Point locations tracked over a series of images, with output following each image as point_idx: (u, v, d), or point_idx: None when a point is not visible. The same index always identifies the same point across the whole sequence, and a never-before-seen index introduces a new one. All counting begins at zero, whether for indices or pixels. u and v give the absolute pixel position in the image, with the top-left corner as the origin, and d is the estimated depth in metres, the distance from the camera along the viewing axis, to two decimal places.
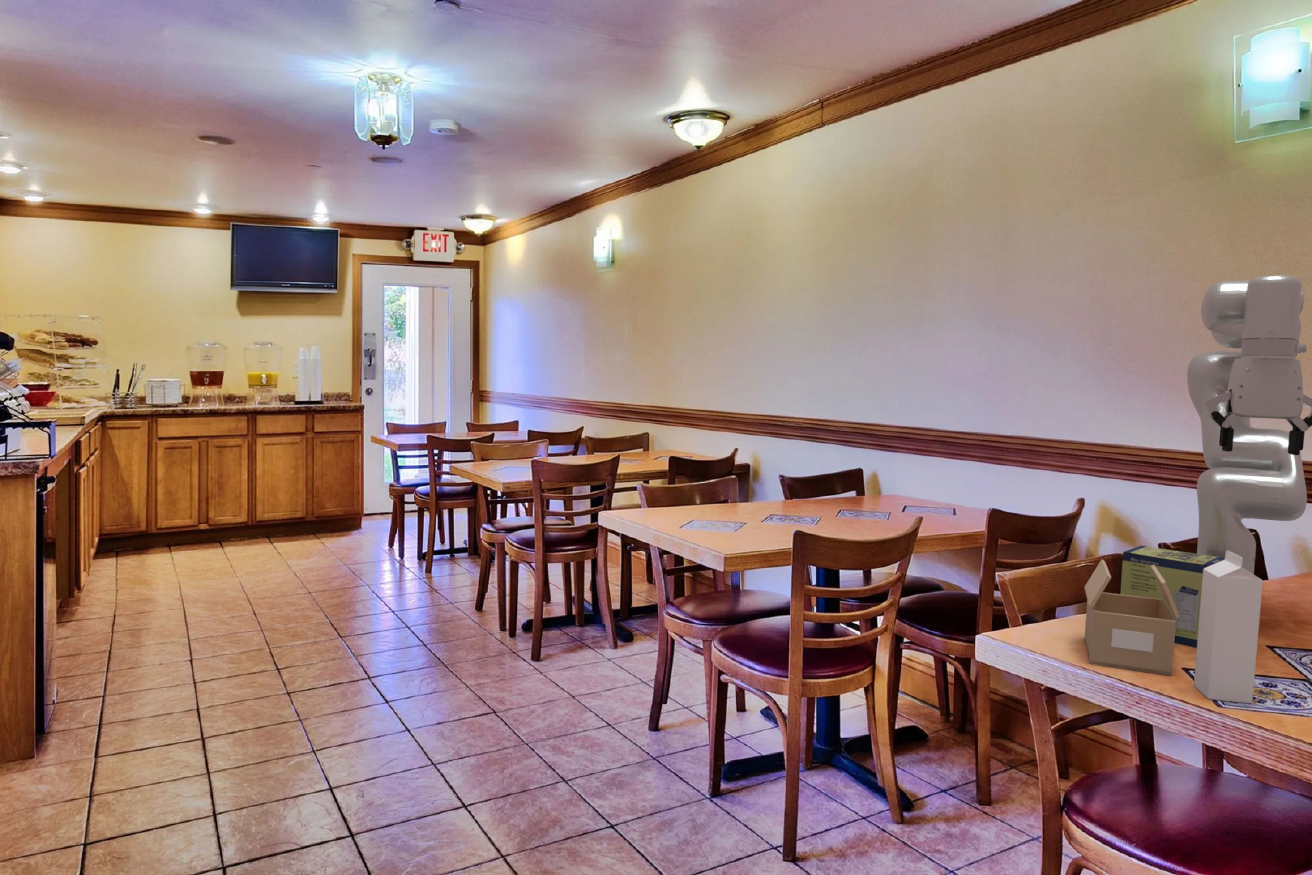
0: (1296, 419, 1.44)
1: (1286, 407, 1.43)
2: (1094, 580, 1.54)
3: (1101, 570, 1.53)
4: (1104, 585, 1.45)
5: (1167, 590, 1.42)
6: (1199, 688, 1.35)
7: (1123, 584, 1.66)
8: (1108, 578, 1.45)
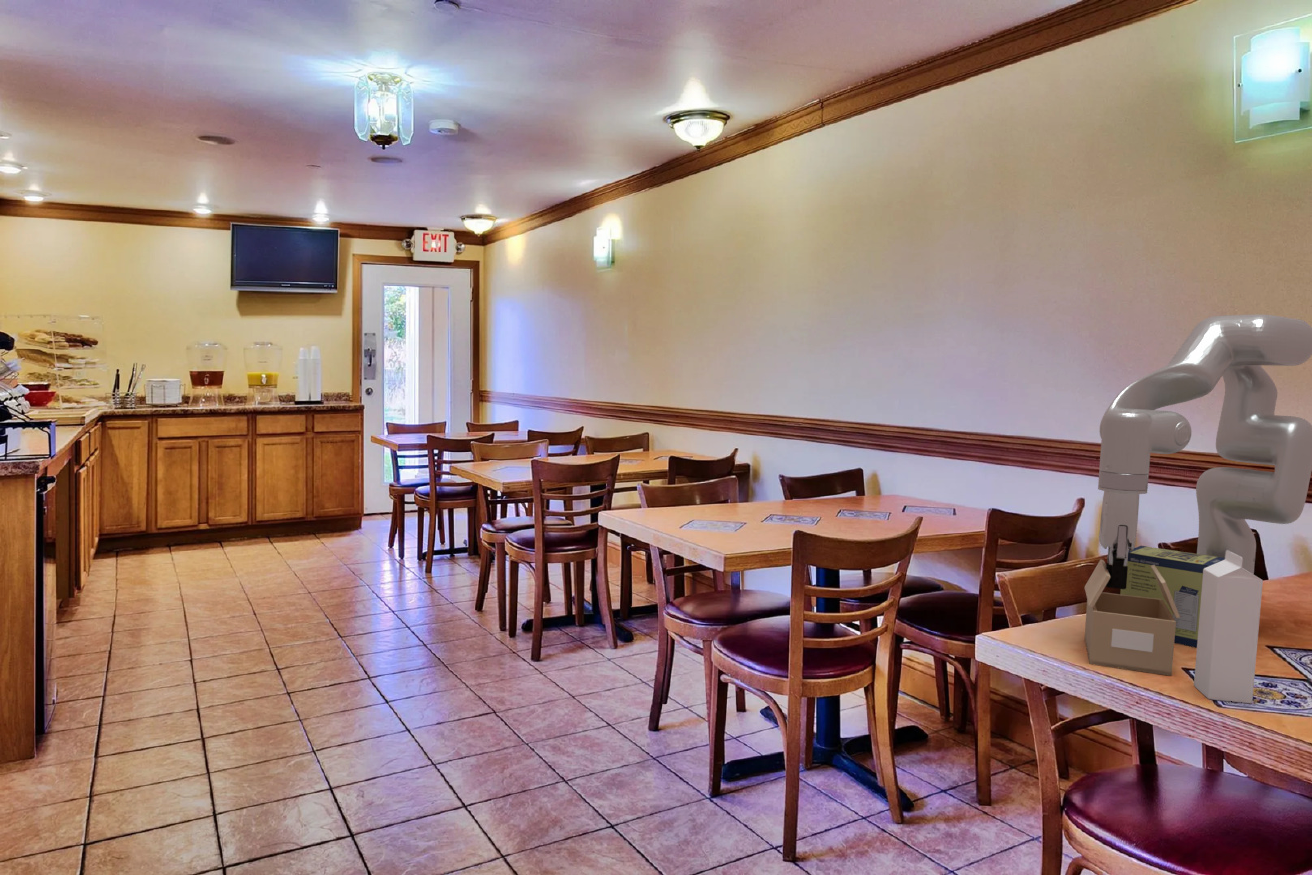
0: None
1: None
2: (1094, 580, 1.54)
3: (1100, 570, 1.53)
4: (1103, 585, 1.45)
5: (1167, 590, 1.42)
6: (1199, 688, 1.35)
7: None
8: (1107, 578, 1.45)
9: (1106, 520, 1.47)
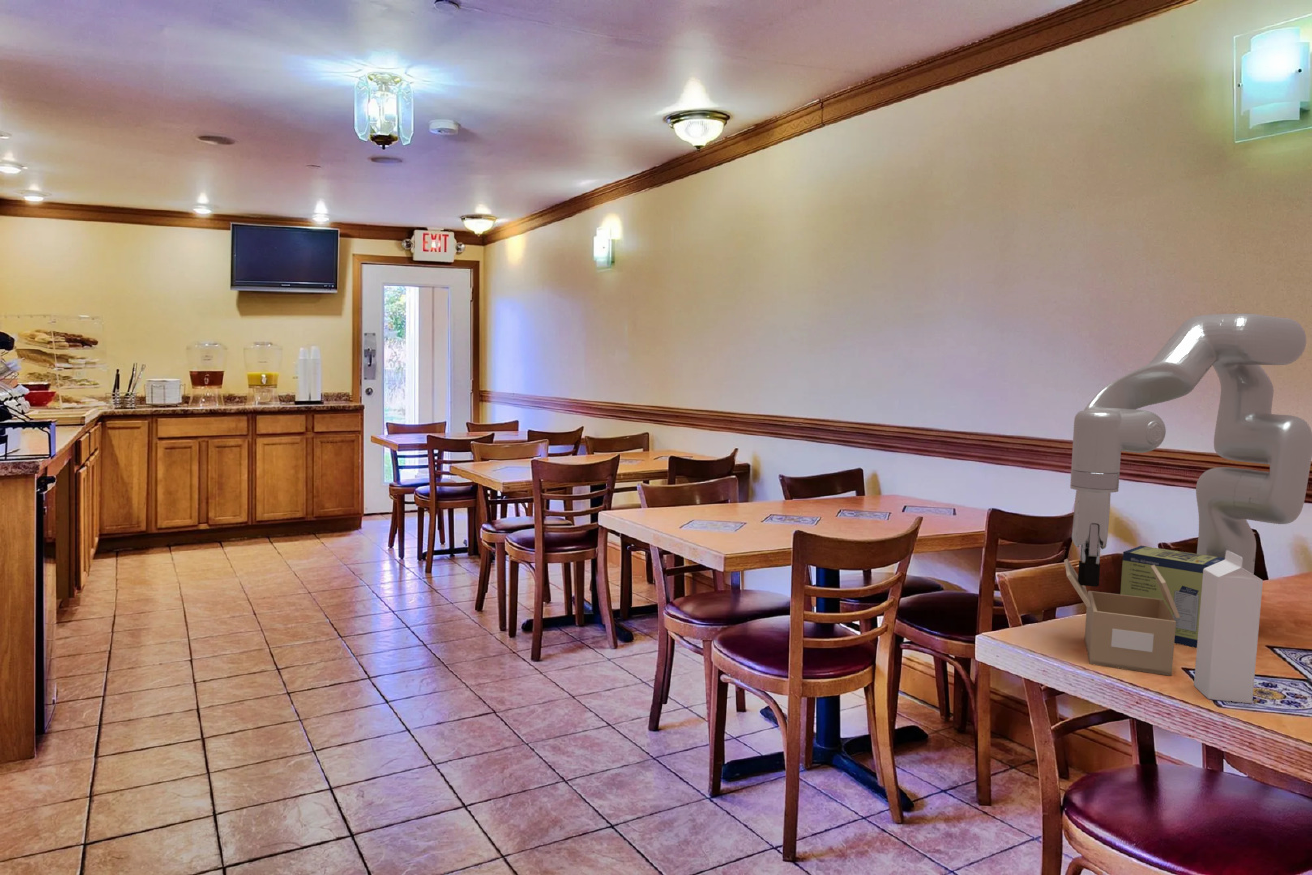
0: None
1: None
2: None
3: None
4: (1074, 584, 1.47)
5: (1167, 590, 1.42)
6: (1199, 688, 1.35)
7: (1123, 584, 1.66)
8: (1069, 577, 1.47)
9: (1078, 519, 1.49)
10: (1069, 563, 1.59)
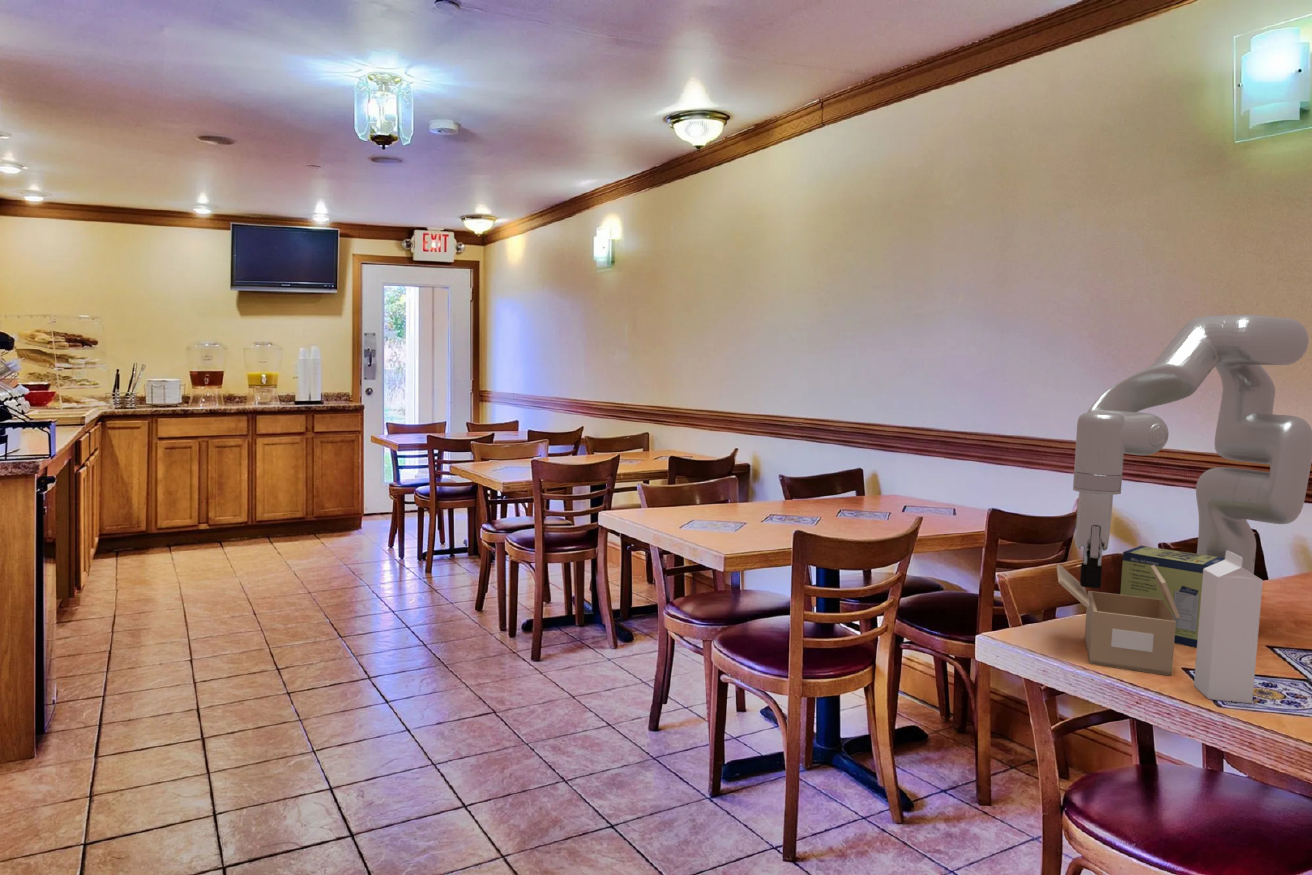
0: None
1: None
2: None
3: None
4: (1068, 588, 1.48)
5: (1167, 590, 1.42)
6: (1199, 688, 1.35)
7: (1123, 584, 1.66)
8: (1061, 582, 1.48)
9: (1080, 520, 1.49)
10: (1061, 568, 1.60)
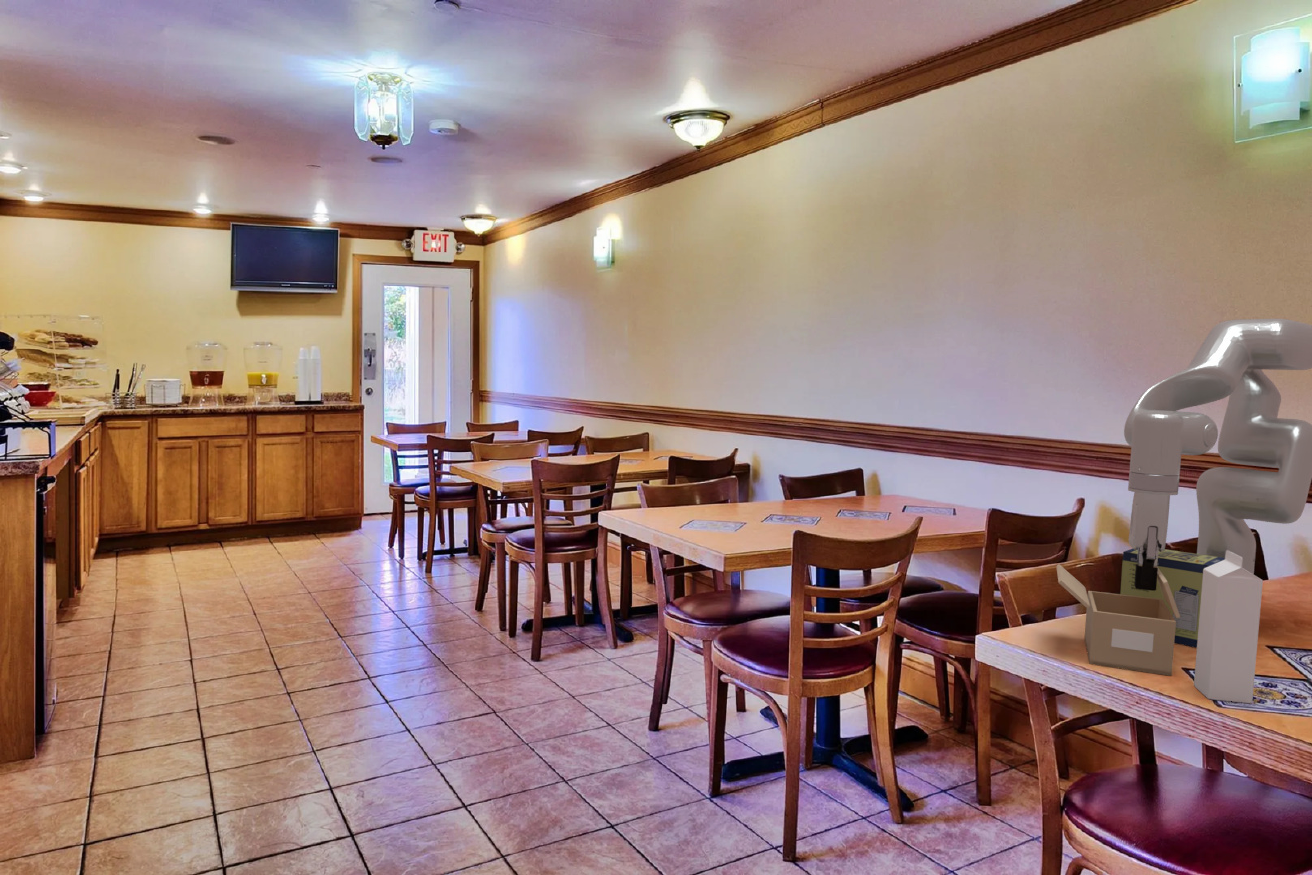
0: None
1: None
2: None
3: None
4: (1068, 588, 1.48)
5: (1168, 590, 1.42)
6: (1199, 688, 1.35)
7: (1123, 584, 1.66)
8: (1061, 582, 1.48)
9: (1136, 521, 1.47)
10: (1061, 568, 1.60)
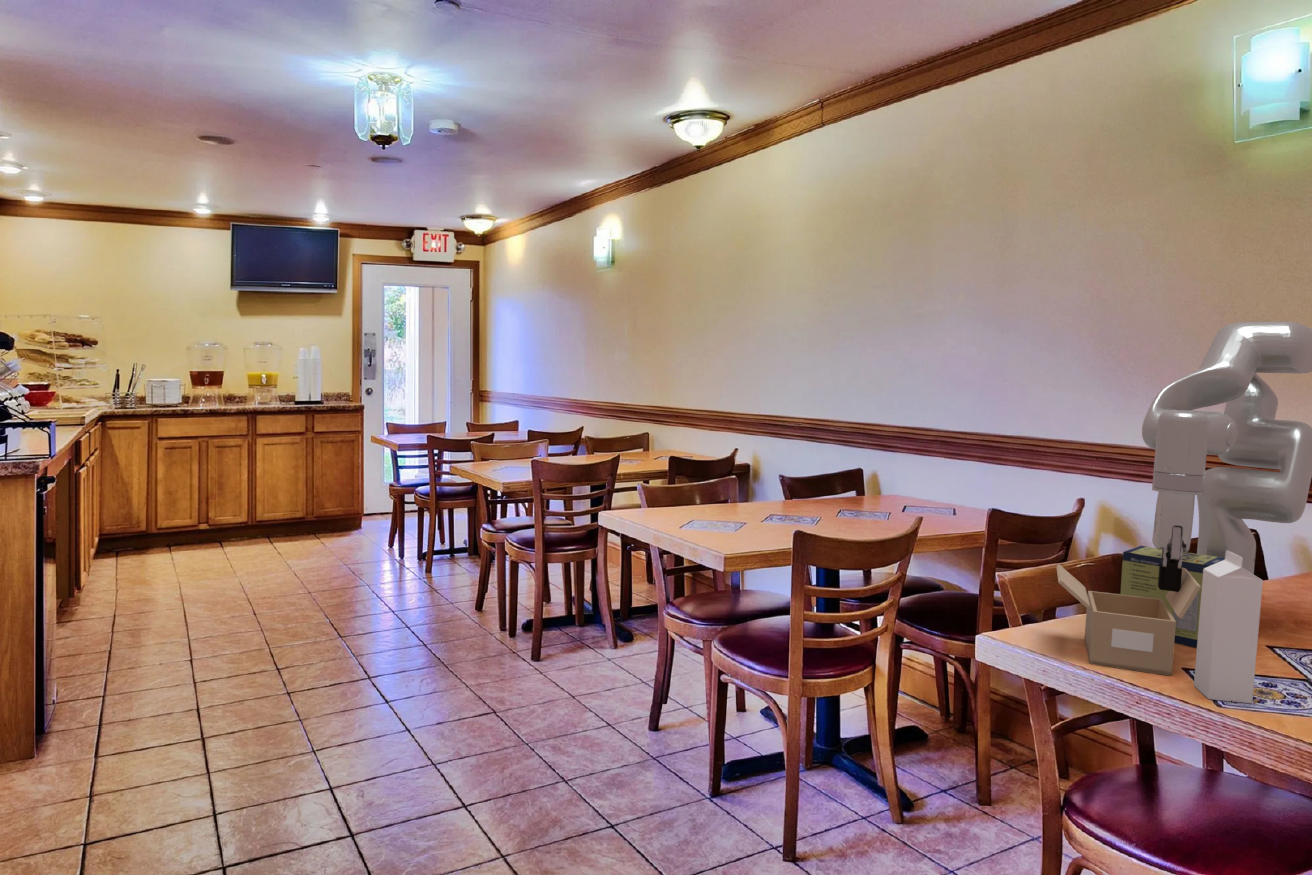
0: None
1: None
2: None
3: None
4: (1068, 588, 1.48)
5: (1195, 593, 1.40)
6: (1199, 688, 1.35)
7: (1123, 584, 1.66)
8: (1061, 582, 1.48)
9: (1160, 521, 1.46)
10: (1061, 568, 1.60)
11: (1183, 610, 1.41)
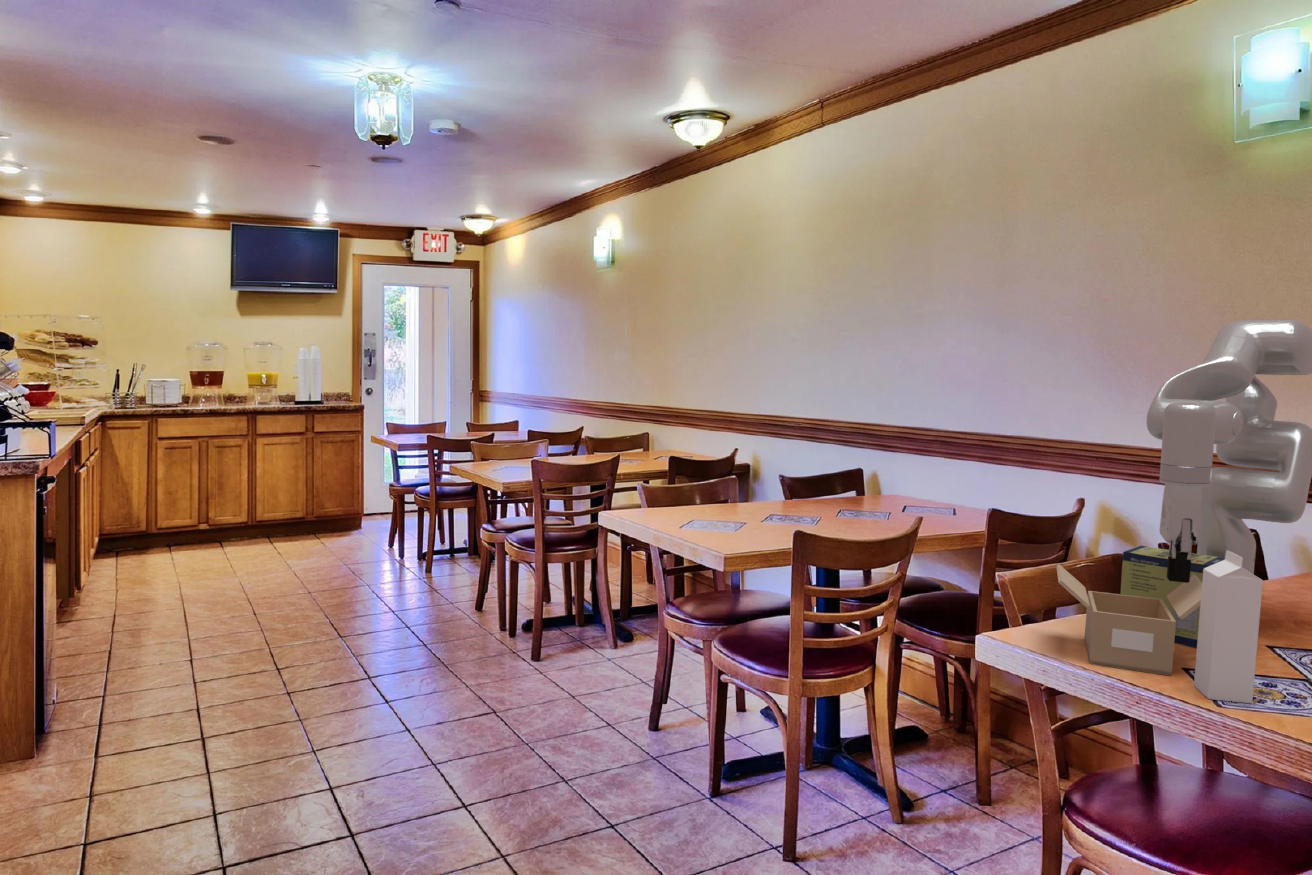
0: None
1: None
2: None
3: None
4: (1068, 588, 1.48)
5: None
6: (1199, 688, 1.35)
7: (1123, 584, 1.66)
8: (1061, 582, 1.48)
9: (1169, 514, 1.46)
10: (1061, 568, 1.60)
11: (1186, 612, 1.41)
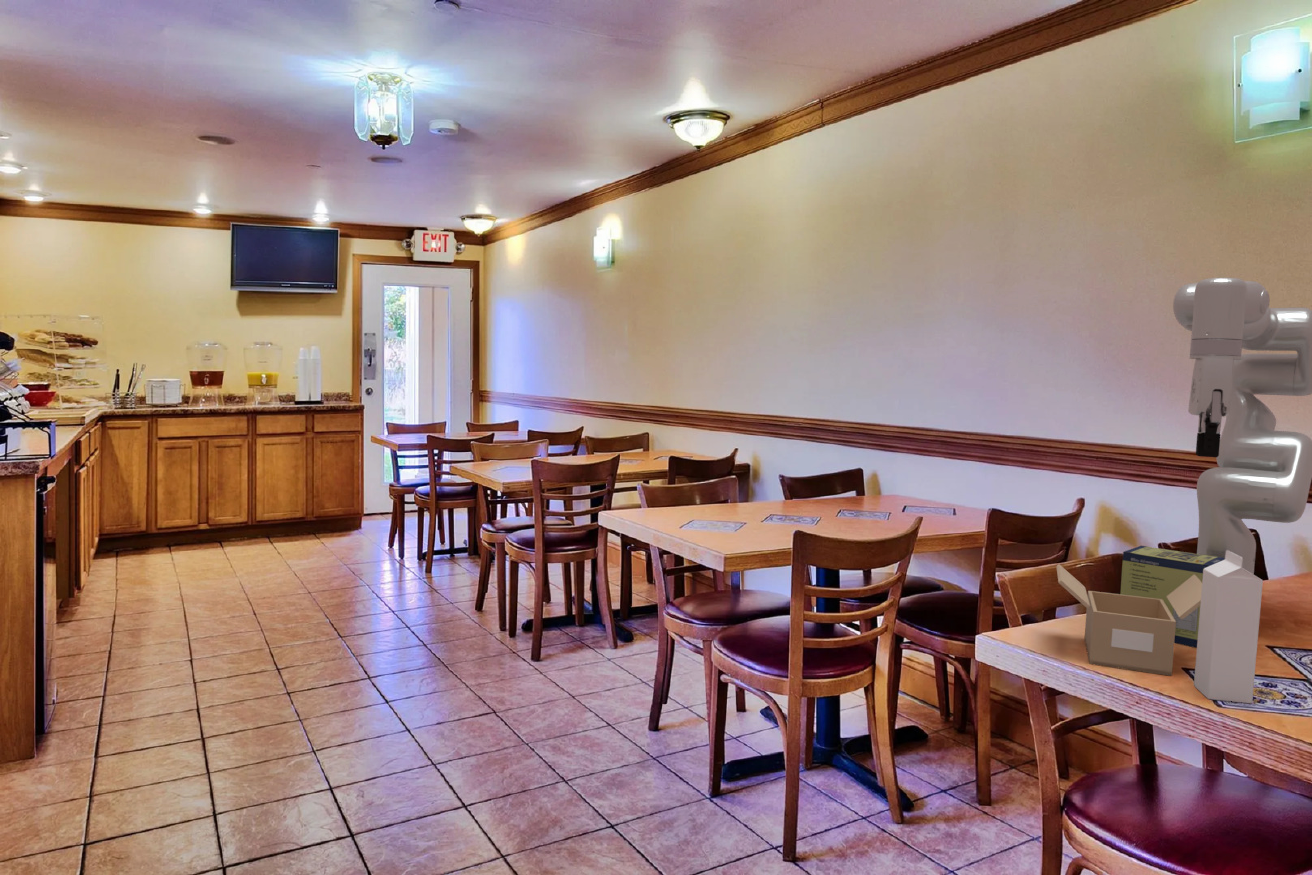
0: None
1: None
2: None
3: None
4: (1068, 588, 1.48)
5: None
6: (1199, 688, 1.35)
7: (1123, 584, 1.66)
8: (1061, 582, 1.48)
9: (1200, 386, 1.48)
10: (1061, 568, 1.60)
11: (1186, 612, 1.41)
